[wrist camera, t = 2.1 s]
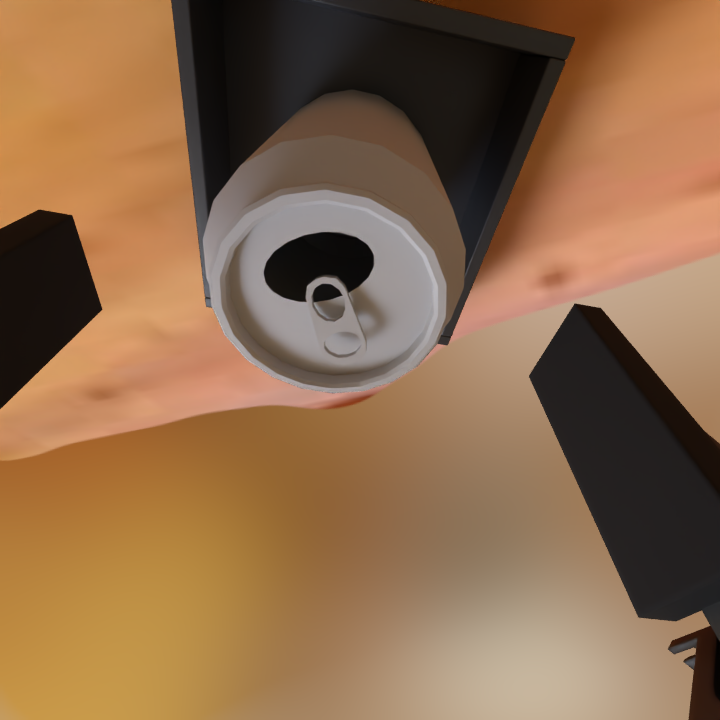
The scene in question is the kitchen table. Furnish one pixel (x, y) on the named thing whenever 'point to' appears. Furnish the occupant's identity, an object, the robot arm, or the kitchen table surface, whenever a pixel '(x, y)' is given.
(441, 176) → the bin
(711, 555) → the robot arm
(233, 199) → the can
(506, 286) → the kitchen table surface
